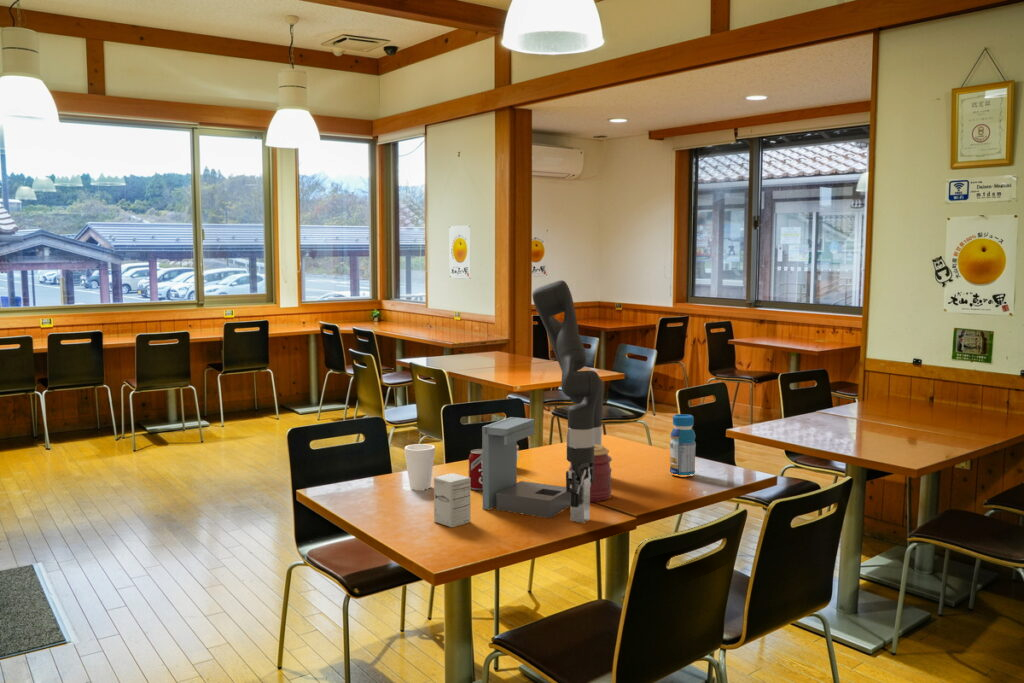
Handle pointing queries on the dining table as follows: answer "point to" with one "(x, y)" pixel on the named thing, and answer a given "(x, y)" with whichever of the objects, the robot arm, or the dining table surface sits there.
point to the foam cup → (419, 465)
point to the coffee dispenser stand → (501, 455)
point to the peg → (582, 503)
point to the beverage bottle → (682, 445)
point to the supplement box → (452, 499)
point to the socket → (533, 499)
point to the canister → (600, 474)
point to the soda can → (476, 469)
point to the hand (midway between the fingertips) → (580, 503)
